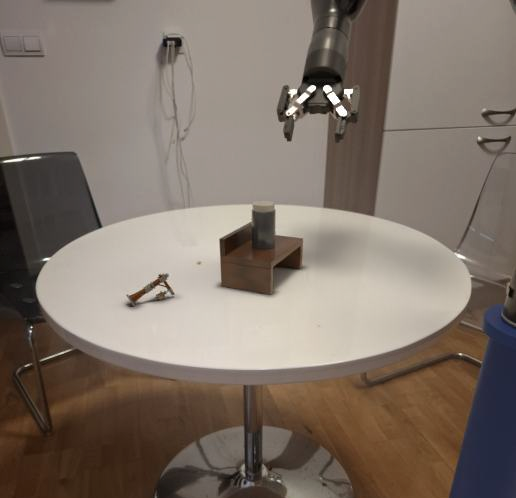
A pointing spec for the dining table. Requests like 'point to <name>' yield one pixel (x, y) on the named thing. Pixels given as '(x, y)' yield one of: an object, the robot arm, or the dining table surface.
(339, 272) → the dining table surface
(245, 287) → the shelf
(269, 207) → the salt shaker
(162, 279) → the brown slender grey-tipped part
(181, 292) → the dining table surface
